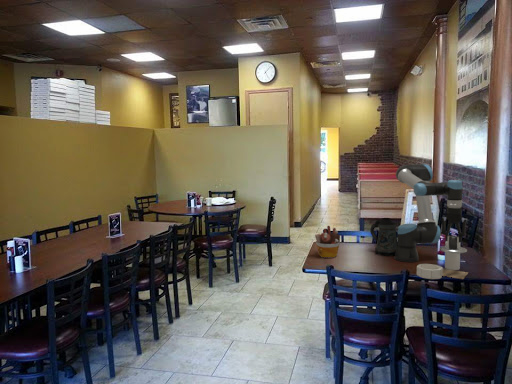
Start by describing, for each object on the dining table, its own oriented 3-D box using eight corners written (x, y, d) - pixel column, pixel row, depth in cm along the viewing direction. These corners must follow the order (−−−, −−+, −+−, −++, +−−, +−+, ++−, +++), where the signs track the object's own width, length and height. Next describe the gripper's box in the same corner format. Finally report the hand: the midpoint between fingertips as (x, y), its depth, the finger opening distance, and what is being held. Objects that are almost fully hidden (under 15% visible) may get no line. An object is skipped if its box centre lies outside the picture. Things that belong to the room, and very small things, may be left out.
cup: (455, 266, 251) (455, 240, 249) (462, 269, 243) (463, 243, 241) (442, 266, 251) (442, 241, 249) (448, 270, 243) (449, 244, 241)
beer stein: (401, 256, 275) (402, 220, 272) (372, 256, 278) (372, 220, 275) (397, 251, 291) (397, 216, 289) (369, 250, 294) (369, 216, 292)
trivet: (436, 275, 234) (436, 274, 234) (442, 269, 245) (442, 268, 244) (463, 279, 225) (463, 278, 225) (468, 273, 236) (468, 272, 236)
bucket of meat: (338, 260, 269) (338, 230, 267) (313, 259, 274) (313, 230, 272) (341, 253, 288) (341, 225, 286) (318, 252, 293) (317, 224, 291)
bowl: (414, 276, 232) (414, 267, 232) (421, 270, 242) (421, 262, 242) (438, 280, 224) (438, 271, 224) (444, 274, 234) (444, 266, 234)
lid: (437, 251, 232) (437, 237, 231) (443, 246, 243) (443, 233, 242) (464, 254, 223) (464, 240, 223) (469, 249, 234) (469, 236, 234)
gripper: (436, 207, 233) (435, 246, 236) (470, 209, 223) (468, 250, 225) (439, 205, 239) (438, 244, 241) (472, 207, 229) (471, 248, 231)
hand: (453, 247), depth 233 cm, fingers closed on lid, 4 cm apart
